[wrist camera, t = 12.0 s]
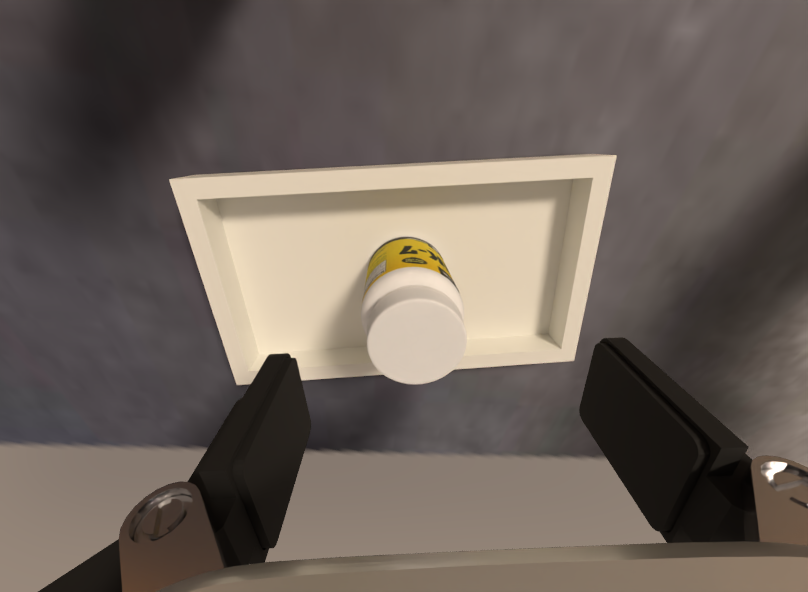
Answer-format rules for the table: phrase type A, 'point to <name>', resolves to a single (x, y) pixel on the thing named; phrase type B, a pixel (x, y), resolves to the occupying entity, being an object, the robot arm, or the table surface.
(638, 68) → the table surface
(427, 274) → the supplement bottle
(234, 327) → the tray
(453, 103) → the table surface
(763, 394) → the table surface
